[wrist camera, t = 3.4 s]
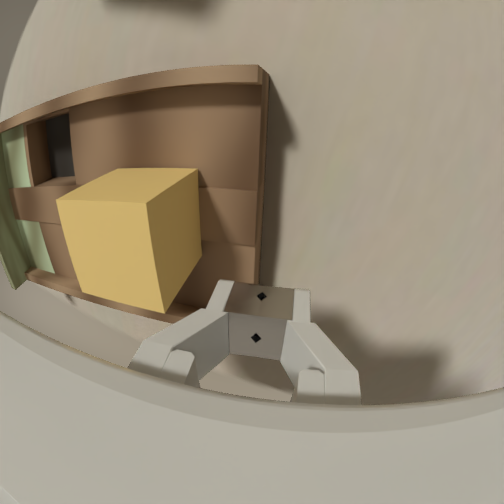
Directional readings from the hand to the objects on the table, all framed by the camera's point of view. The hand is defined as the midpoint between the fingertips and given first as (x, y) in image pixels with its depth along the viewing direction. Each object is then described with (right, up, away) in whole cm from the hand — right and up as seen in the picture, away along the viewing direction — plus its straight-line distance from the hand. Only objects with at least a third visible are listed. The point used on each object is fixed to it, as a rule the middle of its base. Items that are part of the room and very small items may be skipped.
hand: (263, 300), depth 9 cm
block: (-6, +4, +5) cm, 9 cm away
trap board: (-11, +6, +8) cm, 15 cm away
